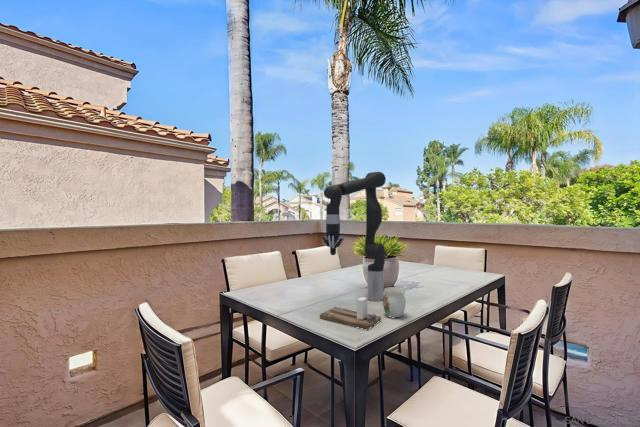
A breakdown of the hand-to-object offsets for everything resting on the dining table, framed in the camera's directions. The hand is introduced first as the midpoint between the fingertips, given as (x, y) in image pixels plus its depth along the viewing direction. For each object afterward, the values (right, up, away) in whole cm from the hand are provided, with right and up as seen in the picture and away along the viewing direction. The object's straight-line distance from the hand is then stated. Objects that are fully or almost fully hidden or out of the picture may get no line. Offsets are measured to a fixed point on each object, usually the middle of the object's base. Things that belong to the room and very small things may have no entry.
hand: (333, 254), depth 168 cm
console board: (+7, -29, -17) cm, 35 cm away
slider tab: (+13, -27, -20) cm, 36 cm away
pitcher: (+30, -29, -10) cm, 43 cm away
